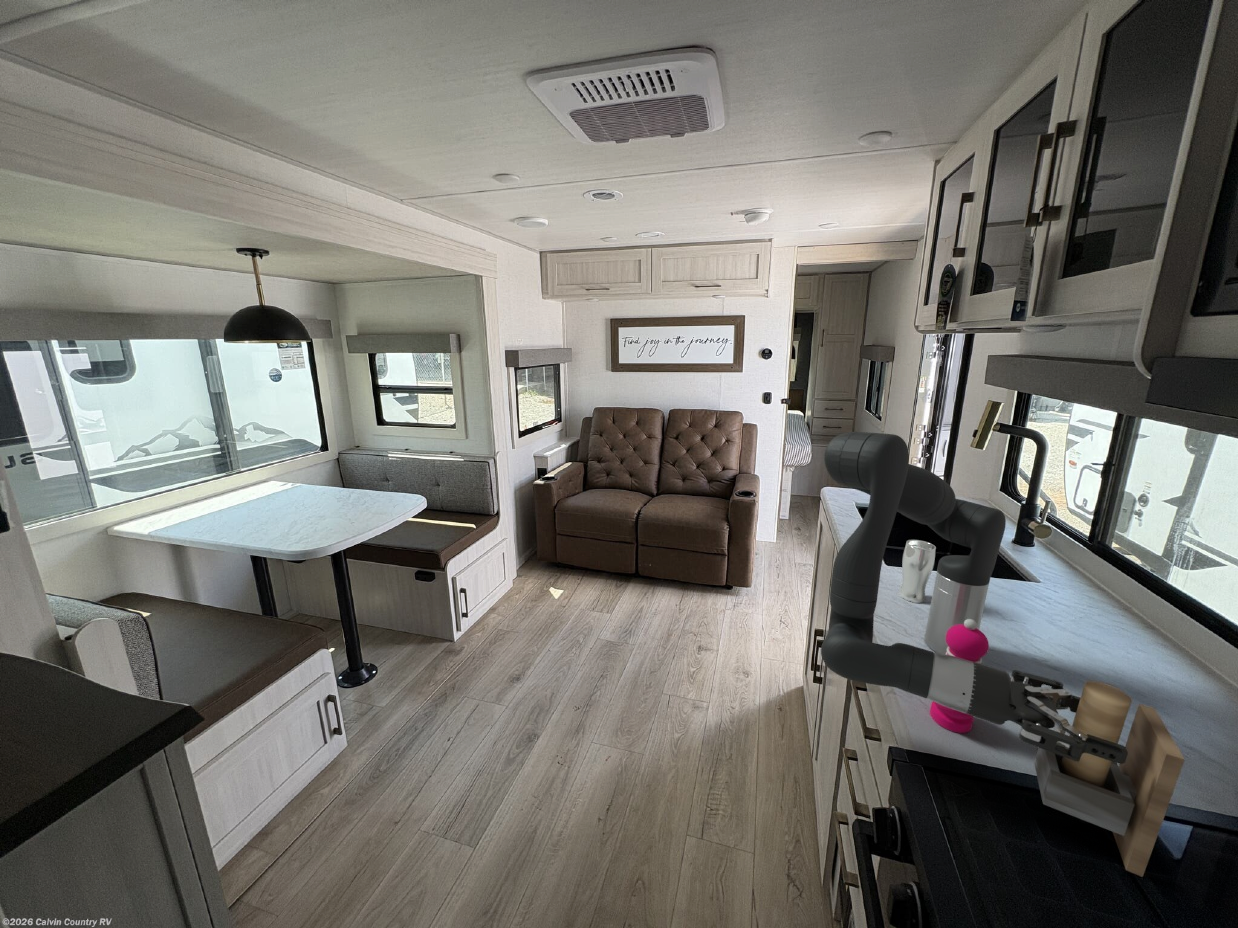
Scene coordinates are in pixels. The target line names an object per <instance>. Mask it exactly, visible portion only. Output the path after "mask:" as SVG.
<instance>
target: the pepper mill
mask: <svg viewBox="0 0 1238 928" xmlns="http://www.w3.org/2000/svg"><path fill="white" fill-rule="evenodd" d="M976 627H977V624H976V622H975V621H974V620H972V619H967V620H965V622H964V624H959V625H954V626H952V627H951V628H950V629H949V630H948V631H947V634H946V643H947V645H948V646H949V647H948V648H947V652H946V655H951V656H955V657H959V658H962V659H965V660H969V661H972V662H976V663H979V664H982V661H983V659H982V658H983V657H984V656H986V655H987V654H988V652H989V647H990V644H989V640H988V638H987V636H986V634H984V632H982V630H980V628H979V629H977V628H976ZM929 714H930V715H929V716H930V717H931V719H932V720H933V722H935V723H936V724H937V725H938V726H940V727H942V728H943V729H946V730H948V731H951V732H953V733H954V732H955V733H959V734H964V733H965V734H966V733H968V732H970V731H972V728H973V723H974V718H975V717H974V716H971V715H968V714H965V713H962V712H959V711H957V710H954V709H951V708H948V707H945V706H943V705H940V704H938V703H936V702H934V701H932V702H931V704H930V709H929Z"/></svg>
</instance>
